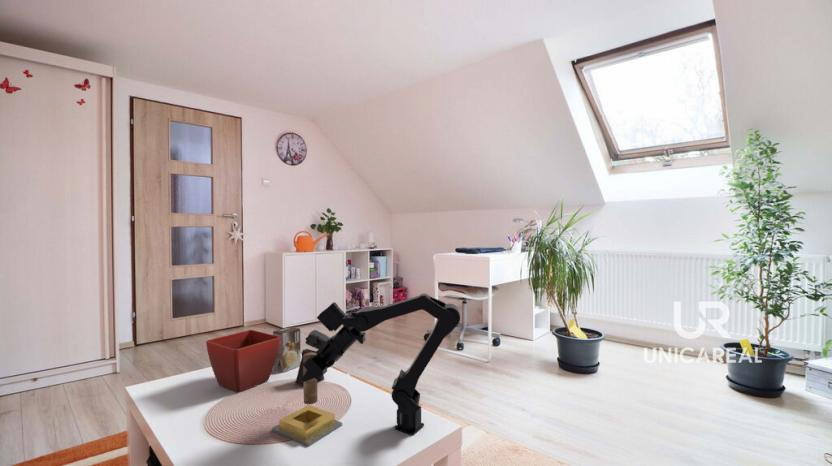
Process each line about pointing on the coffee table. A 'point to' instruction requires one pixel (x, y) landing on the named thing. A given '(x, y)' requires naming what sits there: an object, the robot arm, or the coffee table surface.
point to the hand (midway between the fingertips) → (306, 377)
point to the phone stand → (300, 372)
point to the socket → (307, 425)
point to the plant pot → (243, 358)
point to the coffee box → (288, 349)
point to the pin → (309, 384)
